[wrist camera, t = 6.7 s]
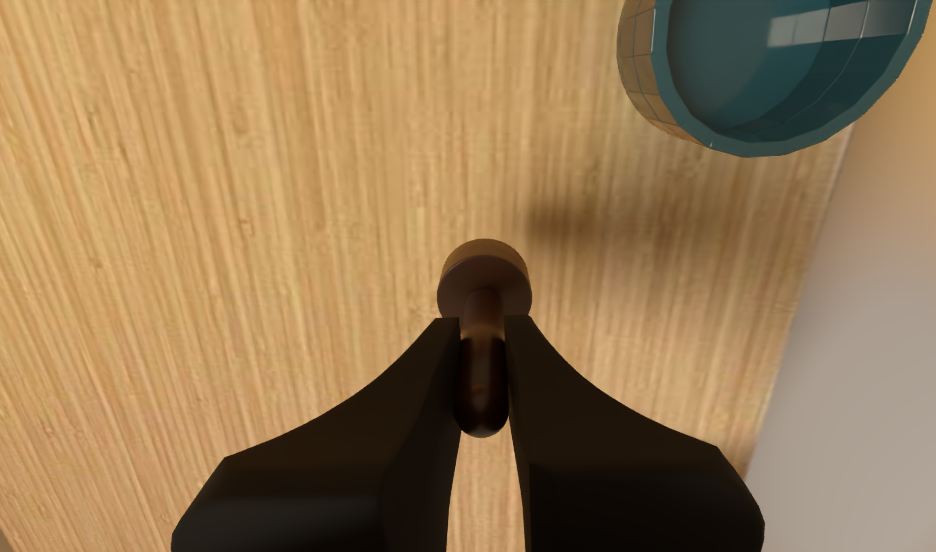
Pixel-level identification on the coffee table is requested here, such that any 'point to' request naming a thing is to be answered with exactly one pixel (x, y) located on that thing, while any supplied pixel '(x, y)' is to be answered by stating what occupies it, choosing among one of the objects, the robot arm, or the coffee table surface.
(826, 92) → the bowl
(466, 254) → the wooden peg stamp
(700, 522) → the robot arm
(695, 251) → the coffee table surface
